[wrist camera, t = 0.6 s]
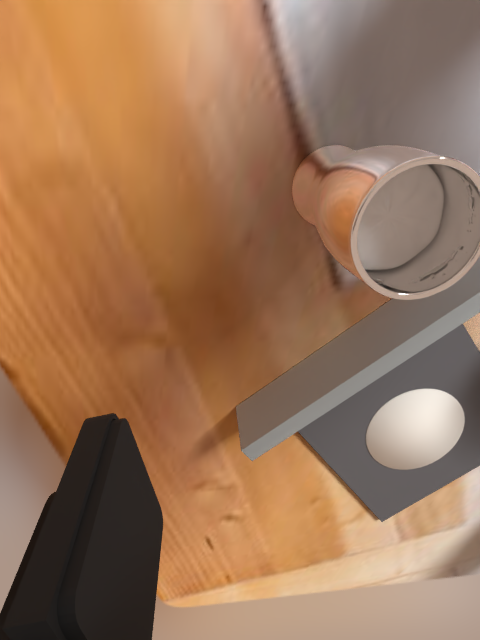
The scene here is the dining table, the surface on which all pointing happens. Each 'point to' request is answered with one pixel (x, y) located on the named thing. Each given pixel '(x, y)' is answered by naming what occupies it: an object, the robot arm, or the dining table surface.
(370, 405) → the dark gray mat
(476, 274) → the low wall
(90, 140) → the dining table surface
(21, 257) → the dining table surface
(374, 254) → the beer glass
